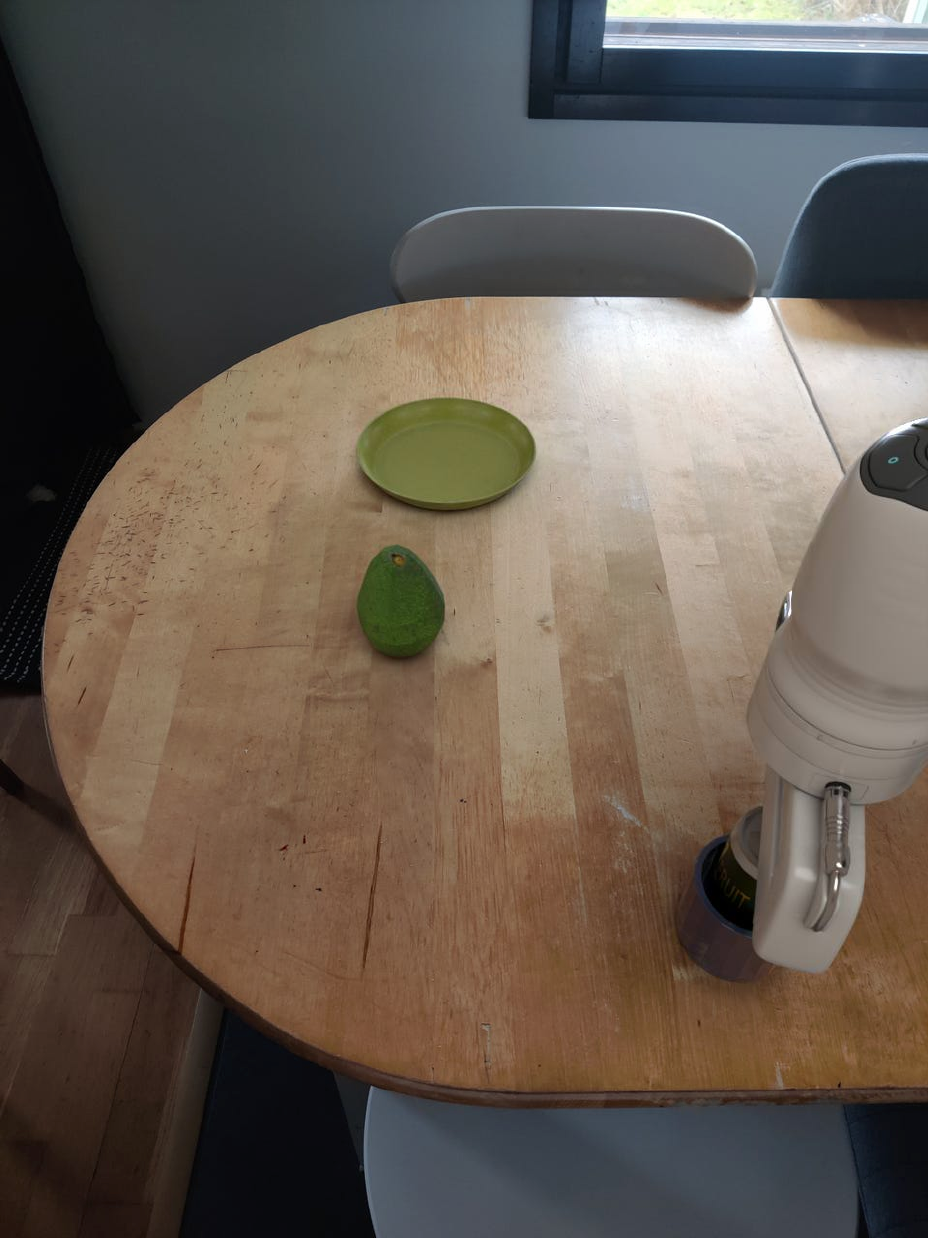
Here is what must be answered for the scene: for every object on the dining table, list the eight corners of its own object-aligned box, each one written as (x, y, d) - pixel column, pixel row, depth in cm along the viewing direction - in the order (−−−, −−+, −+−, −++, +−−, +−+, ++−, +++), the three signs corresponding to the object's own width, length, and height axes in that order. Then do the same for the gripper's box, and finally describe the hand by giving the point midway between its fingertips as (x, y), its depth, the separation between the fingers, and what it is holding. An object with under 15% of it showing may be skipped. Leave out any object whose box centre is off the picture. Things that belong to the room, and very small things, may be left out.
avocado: (353, 672, 79) (340, 576, 70) (371, 611, 84) (361, 516, 76) (439, 681, 78) (436, 586, 69) (452, 620, 83) (450, 524, 75)
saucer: (330, 504, 96) (327, 480, 94) (395, 408, 110) (393, 385, 107) (508, 539, 92) (510, 516, 89) (552, 435, 105) (554, 412, 103)
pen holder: (785, 897, 64) (813, 850, 58) (780, 997, 58) (810, 955, 53) (682, 868, 65) (701, 820, 60) (668, 964, 60) (687, 919, 55)
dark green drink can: (749, 882, 64) (794, 793, 55) (786, 951, 60) (841, 868, 51) (683, 900, 63) (718, 813, 54) (717, 971, 59) (760, 890, 50)
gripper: (918, 918, 36) (821, 1033, 46) (900, 594, 50) (828, 737, 59) (764, 876, 37) (702, 997, 47) (787, 572, 51) (735, 715, 61)
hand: (772, 849), depth 53 cm, fingers open, 8 cm apart
